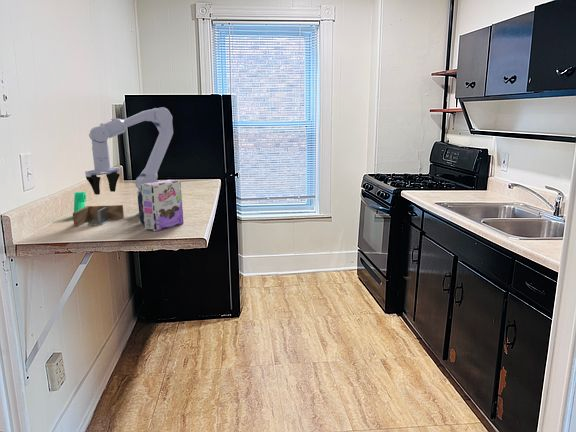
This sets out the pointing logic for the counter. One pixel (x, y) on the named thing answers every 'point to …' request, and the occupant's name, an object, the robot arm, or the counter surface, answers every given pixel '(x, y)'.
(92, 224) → the pad
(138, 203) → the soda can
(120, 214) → the corner walls
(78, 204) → the camera mount
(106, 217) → the bracket
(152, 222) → the candy box
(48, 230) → the counter surface
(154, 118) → the robot arm
